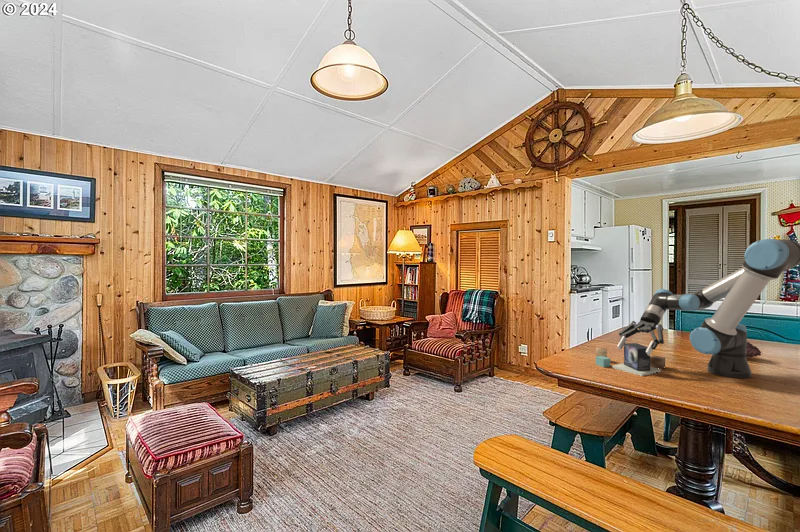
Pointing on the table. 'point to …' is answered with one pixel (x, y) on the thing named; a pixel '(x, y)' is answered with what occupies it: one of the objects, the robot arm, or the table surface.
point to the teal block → (603, 361)
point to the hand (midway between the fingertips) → (632, 350)
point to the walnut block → (657, 362)
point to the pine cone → (752, 350)
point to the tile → (631, 370)
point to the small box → (636, 357)
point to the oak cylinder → (601, 352)
